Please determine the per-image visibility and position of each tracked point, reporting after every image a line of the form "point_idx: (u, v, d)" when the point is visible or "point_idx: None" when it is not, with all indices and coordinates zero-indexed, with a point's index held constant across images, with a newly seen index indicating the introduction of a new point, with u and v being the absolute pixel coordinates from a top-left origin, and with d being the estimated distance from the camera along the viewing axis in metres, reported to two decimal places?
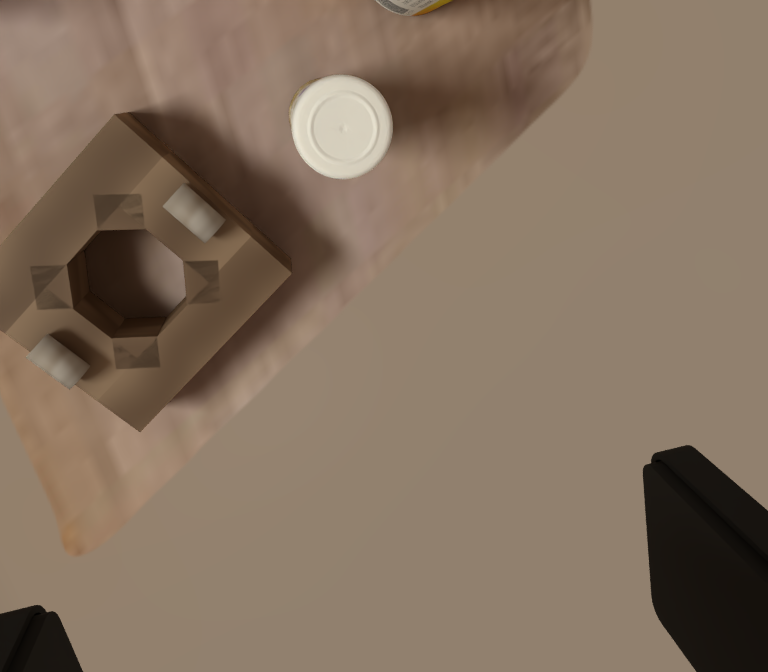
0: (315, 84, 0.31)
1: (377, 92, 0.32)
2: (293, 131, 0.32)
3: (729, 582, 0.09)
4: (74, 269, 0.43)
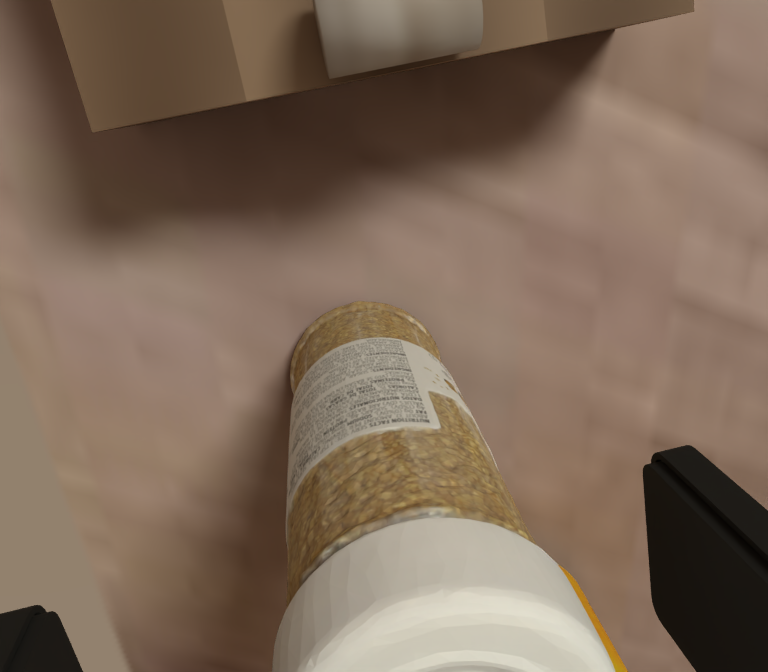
0: None
1: None
2: (549, 607, 0.09)
3: (729, 582, 0.09)
4: None
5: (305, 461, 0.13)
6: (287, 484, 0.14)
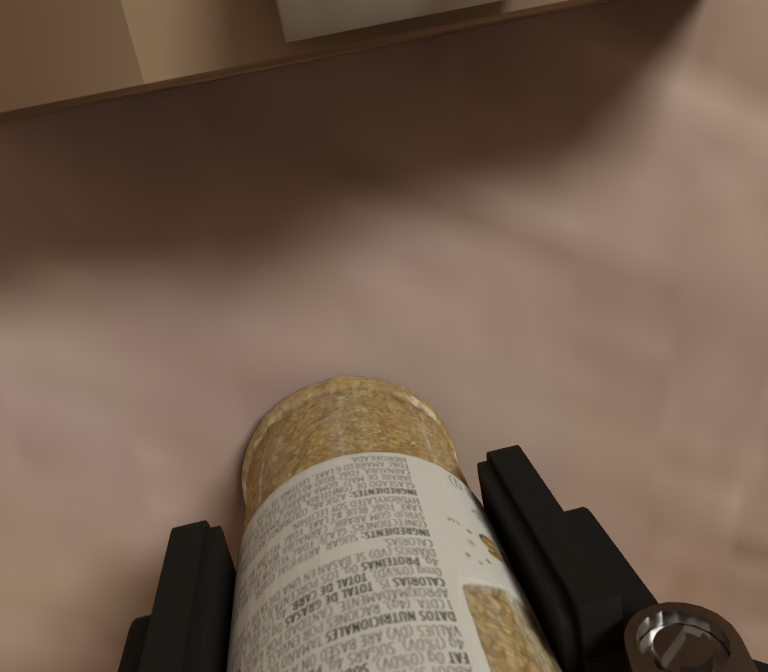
0: None
1: None
2: None
3: (522, 569, 0.10)
4: None
5: None
6: None
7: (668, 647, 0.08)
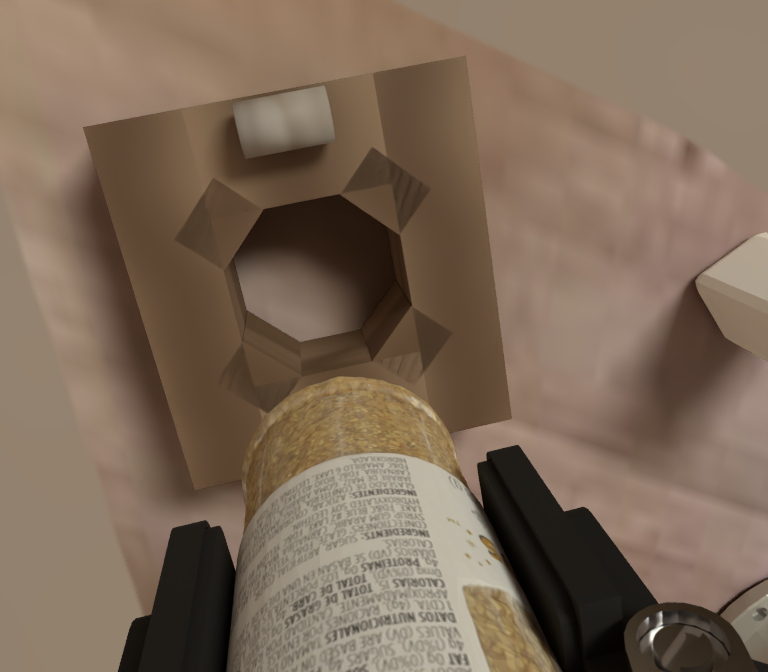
0: None
1: None
2: None
3: (522, 569, 0.10)
4: None
5: None
6: None
7: (668, 647, 0.08)
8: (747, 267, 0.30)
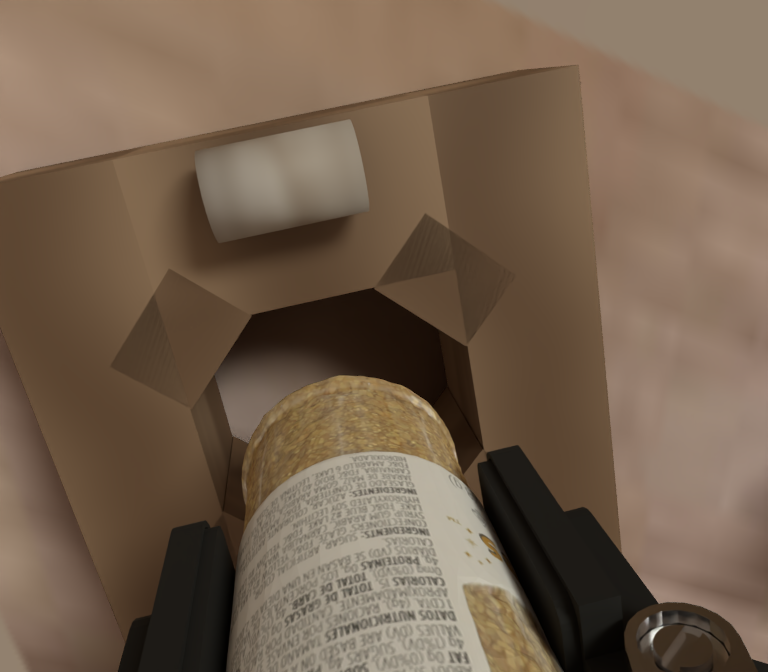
0: None
1: None
2: None
3: (522, 569, 0.10)
4: None
5: None
6: None
7: (668, 647, 0.08)
8: None
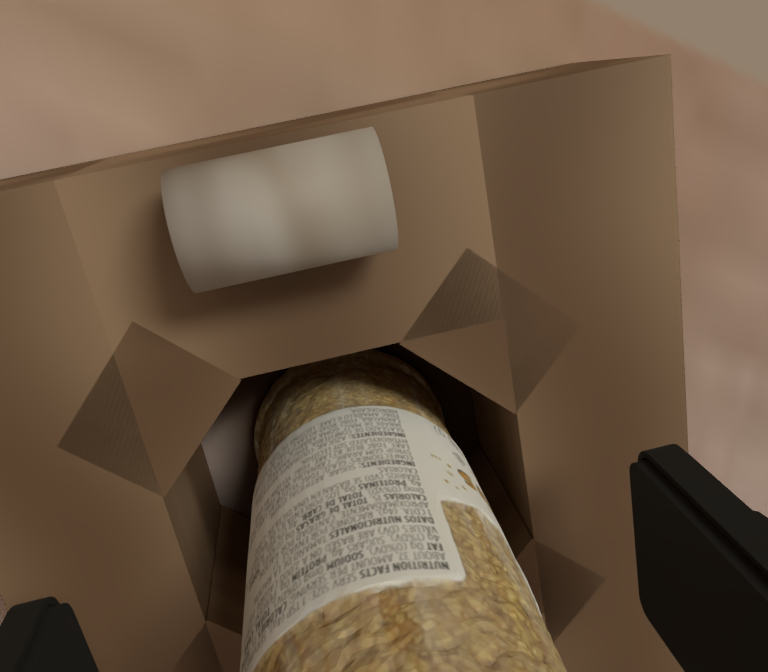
0: None
1: None
2: None
3: (712, 579, 0.09)
4: None
5: (264, 623, 0.09)
6: (242, 639, 0.10)
7: None
8: None
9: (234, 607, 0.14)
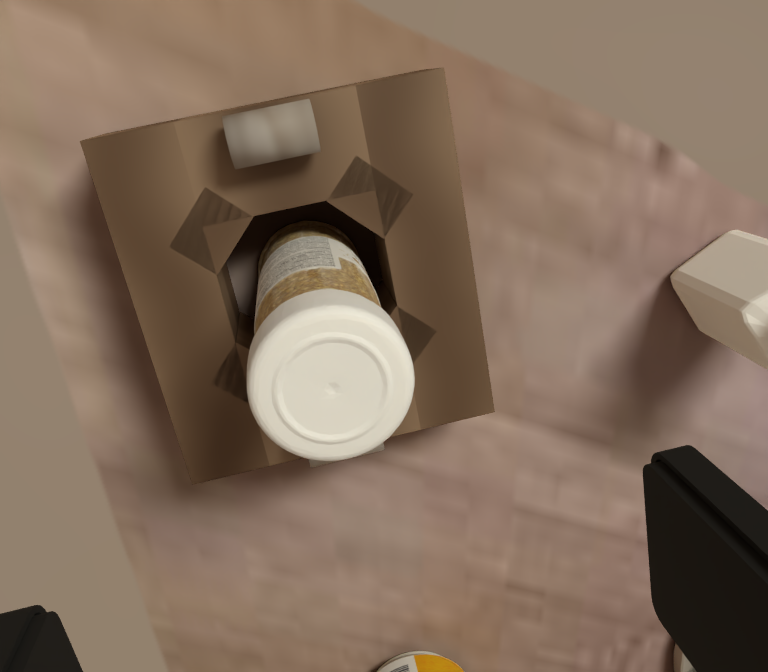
0: (413, 385, 0.19)
1: (348, 458, 0.20)
2: (374, 316, 0.19)
3: (729, 582, 0.09)
4: None
5: (265, 291, 0.23)
6: (255, 311, 0.24)
7: None
8: (718, 263, 0.32)
9: (249, 343, 0.29)
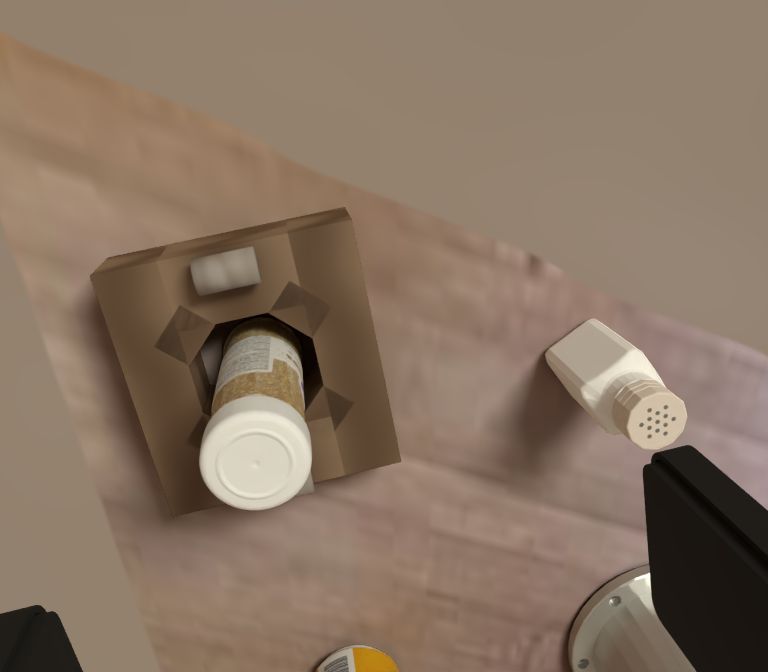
0: (310, 460, 0.29)
1: (268, 508, 0.30)
2: (282, 417, 0.29)
3: (729, 582, 0.09)
4: None
5: (219, 386, 0.33)
6: None
7: None
8: (575, 347, 0.42)
9: None
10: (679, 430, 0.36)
